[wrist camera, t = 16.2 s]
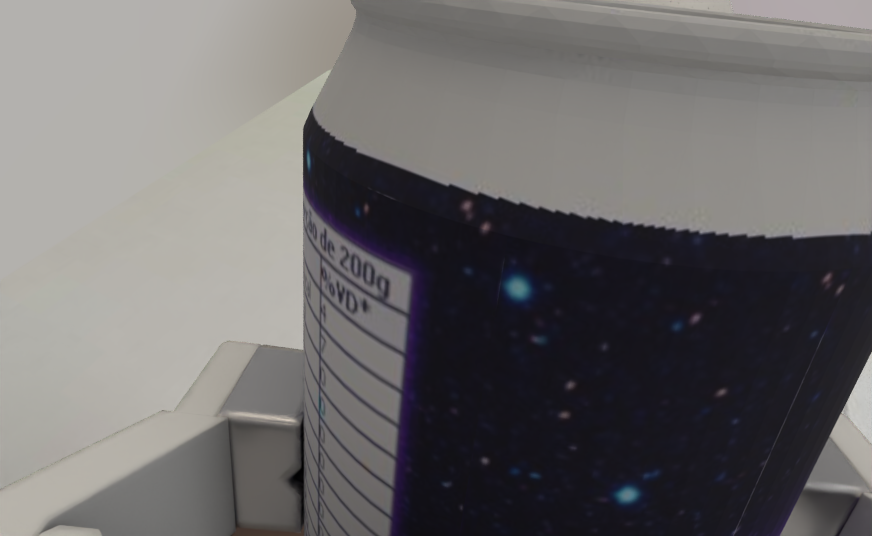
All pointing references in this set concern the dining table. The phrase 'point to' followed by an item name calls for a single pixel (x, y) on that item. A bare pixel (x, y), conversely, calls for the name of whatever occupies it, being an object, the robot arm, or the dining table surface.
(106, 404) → the dining table surface
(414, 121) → the beverage can
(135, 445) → the robot arm
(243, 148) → the dining table surface
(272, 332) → the dining table surface
